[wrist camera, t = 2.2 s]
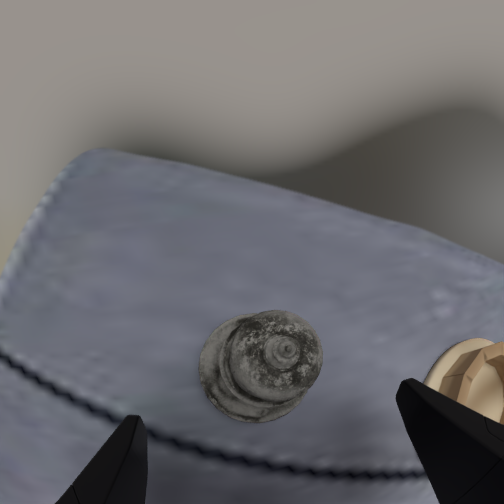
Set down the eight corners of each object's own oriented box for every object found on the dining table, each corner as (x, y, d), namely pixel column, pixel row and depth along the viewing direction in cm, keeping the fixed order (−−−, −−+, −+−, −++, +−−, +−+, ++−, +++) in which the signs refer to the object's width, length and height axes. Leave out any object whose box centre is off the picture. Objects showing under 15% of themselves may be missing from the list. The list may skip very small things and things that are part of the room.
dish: (519, 404, 16) (544, 400, 13) (446, 502, 13) (472, 510, 10) (473, 313, 20) (500, 300, 17) (387, 410, 17) (415, 412, 14)
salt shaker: (236, 433, 16) (252, 504, 5) (186, 355, 18) (126, 305, 7) (314, 382, 18) (429, 367, 7) (264, 309, 20) (311, 206, 9)
